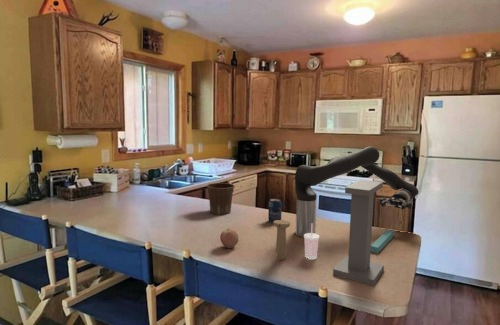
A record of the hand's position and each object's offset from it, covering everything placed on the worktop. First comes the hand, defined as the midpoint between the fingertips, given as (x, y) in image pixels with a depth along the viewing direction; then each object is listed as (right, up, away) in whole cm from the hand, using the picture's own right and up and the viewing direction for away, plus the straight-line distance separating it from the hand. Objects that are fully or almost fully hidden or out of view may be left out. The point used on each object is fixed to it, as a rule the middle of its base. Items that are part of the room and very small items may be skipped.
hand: (392, 206), depth 155 cm
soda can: (-53, -12, +23) cm, 59 cm away
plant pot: (-84, -9, +41) cm, 94 cm away
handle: (-55, -18, -24) cm, 62 cm away
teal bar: (-7, -16, -7) cm, 19 cm away
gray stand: (-26, -19, -34) cm, 47 cm away
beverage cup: (-42, -18, -22) cm, 51 cm away
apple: (-76, -16, -13) cm, 78 cm away
